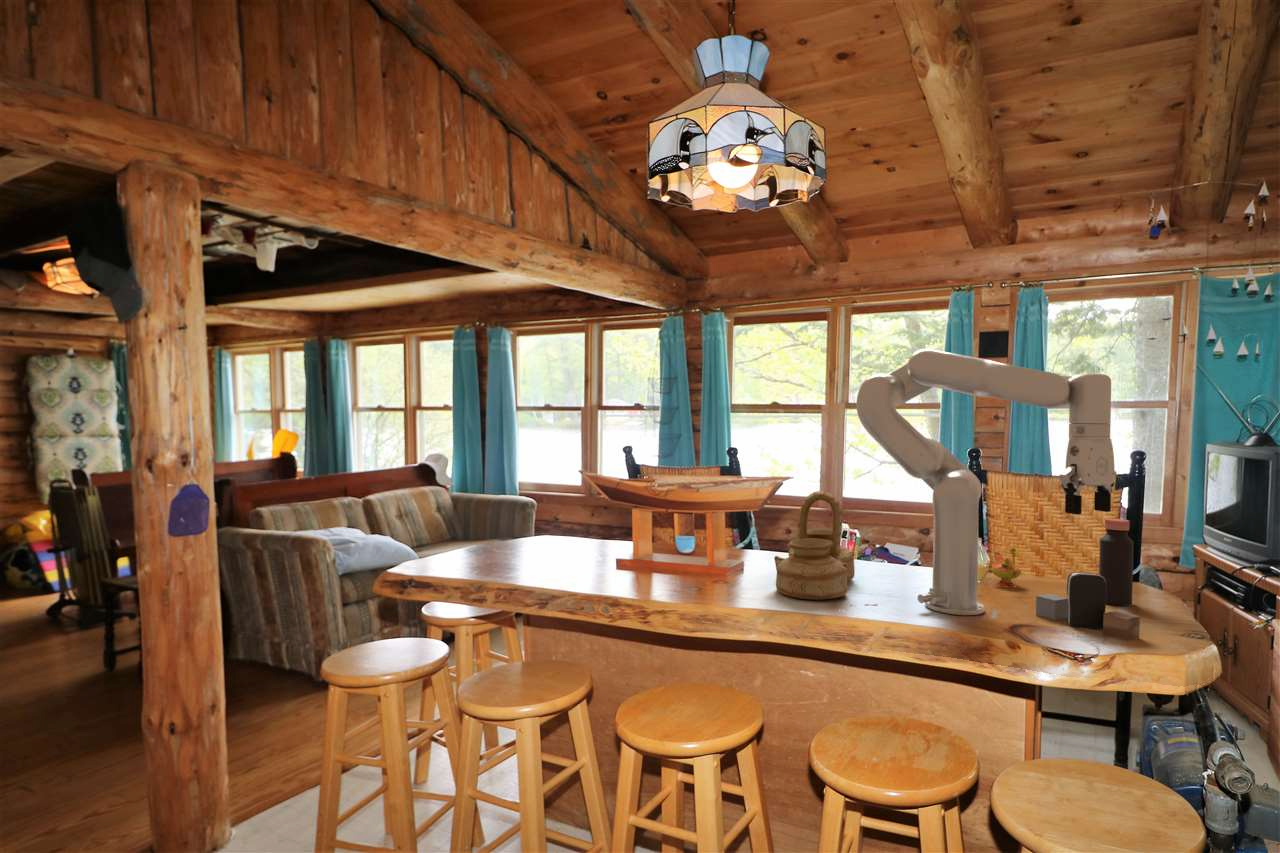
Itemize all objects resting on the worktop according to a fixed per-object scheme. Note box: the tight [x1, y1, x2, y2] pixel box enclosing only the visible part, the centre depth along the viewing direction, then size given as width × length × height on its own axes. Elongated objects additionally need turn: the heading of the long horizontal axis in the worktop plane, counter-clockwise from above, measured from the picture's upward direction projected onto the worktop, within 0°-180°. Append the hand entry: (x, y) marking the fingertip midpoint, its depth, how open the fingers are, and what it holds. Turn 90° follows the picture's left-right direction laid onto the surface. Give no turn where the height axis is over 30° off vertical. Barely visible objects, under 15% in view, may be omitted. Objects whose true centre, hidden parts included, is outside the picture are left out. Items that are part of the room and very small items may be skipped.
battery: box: [1066, 571, 1107, 630], centre depth 154 cm, size 7×4×11 cm, turn 72°
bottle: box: [1098, 517, 1135, 607], centre depth 172 cm, size 7×7×20 cm
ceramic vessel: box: [774, 490, 856, 601], centre depth 187 cm, size 34×18×25 cm, turn 159°
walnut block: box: [1102, 610, 1141, 642], centre depth 147 cm, size 4×4×4 cm
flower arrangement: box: [991, 547, 1021, 588], centre depth 191 cm, size 7×18×11 cm, turn 167°
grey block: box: [1035, 593, 1069, 621], centre depth 161 cm, size 4×4×4 cm
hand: (1087, 512), depth 153 cm, fingers open, 9 cm apart
